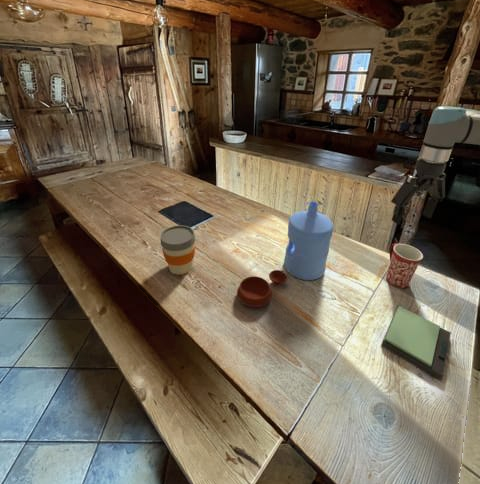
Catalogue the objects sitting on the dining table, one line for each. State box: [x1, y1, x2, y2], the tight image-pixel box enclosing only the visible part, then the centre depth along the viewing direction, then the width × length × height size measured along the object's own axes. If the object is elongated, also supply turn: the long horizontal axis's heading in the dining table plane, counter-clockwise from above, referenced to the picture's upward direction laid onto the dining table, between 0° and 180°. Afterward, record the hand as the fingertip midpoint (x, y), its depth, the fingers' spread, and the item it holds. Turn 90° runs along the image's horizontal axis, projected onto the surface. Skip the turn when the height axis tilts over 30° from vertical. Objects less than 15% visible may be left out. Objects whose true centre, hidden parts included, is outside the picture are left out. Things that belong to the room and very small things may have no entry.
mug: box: [385, 243, 424, 289], centre depth 97 cm, size 13×9×14 cm
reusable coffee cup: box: [160, 224, 196, 275], centre depth 100 cm, size 13×13×15 cm
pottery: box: [236, 269, 288, 308], centre depth 91 cm, size 12×20×4 cm, turn 127°
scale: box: [380, 305, 451, 381], centre depth 76 cm, size 14×16×3 cm
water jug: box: [283, 201, 334, 281], centre depth 98 cm, size 16×16×28 cm
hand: (411, 219), depth 90 cm, fingers open, 13 cm apart
